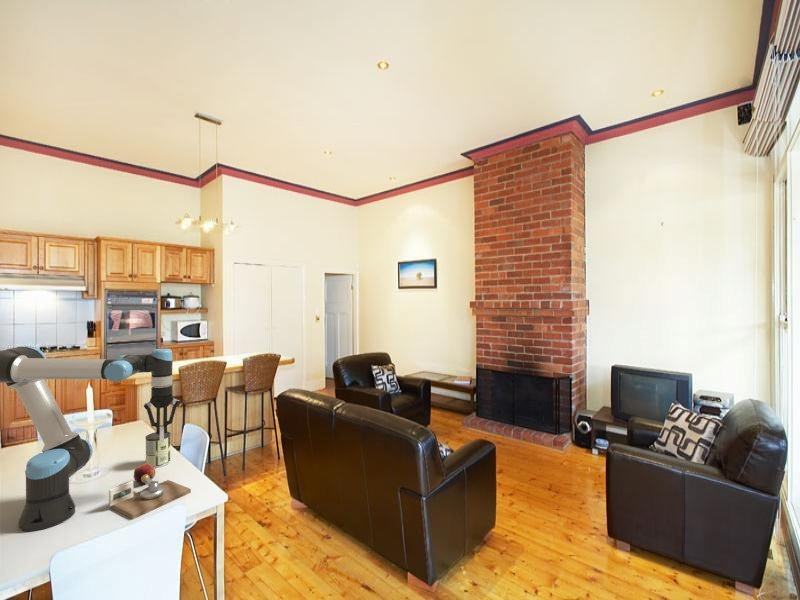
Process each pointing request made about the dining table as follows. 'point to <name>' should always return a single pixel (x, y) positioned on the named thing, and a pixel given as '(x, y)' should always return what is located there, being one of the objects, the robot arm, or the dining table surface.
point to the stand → (135, 506)
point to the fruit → (143, 472)
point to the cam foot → (151, 488)
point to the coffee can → (157, 450)
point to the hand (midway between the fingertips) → (161, 441)
